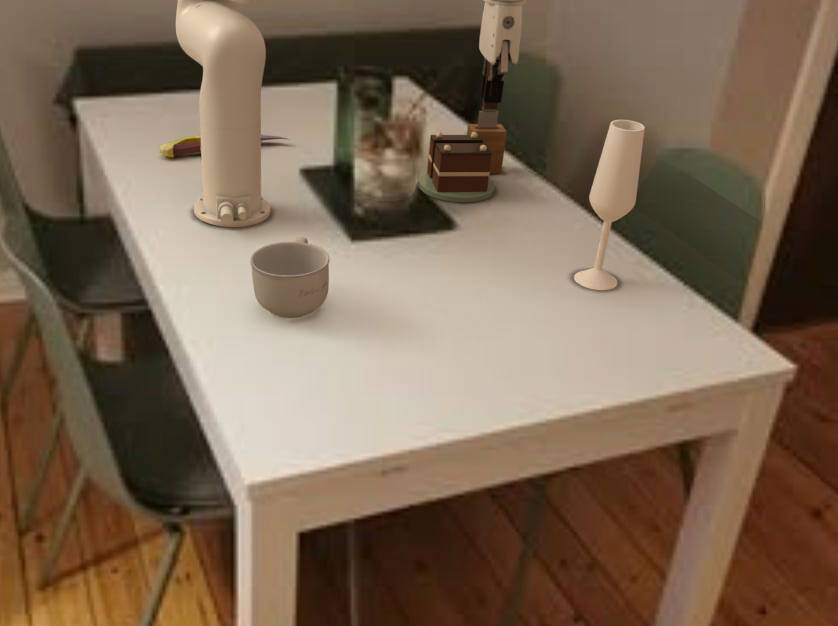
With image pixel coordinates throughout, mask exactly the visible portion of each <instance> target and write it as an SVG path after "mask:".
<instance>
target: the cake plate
mask: <svg viewBox="0 0 838 626" xmlns="http://www.w3.org/2000/svg"><path fill="white" fill-rule="evenodd" d="M417 185H418V188H419V190H420V191H421V192H422V193H424V194H425V195H427V196H429V197H431V198H434V199H438V200H441V201H445V202H452V203H477V202H480V201H481V202H482V201H485V200H487V199H488V198H490V197H492V196H493V194H494V192H495V182H493V180H492V179H491V178H489V180H488V188H487V192H437V190H436V188H435V186H434V185H433V183H432V178H430V177H429V175H428V174H427V171H425V172H424V173H422V174H421V175H420V176H419V177H418V184H417Z"/></svg>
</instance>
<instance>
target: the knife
mask: <svg viewBox="0 0 838 626" xmlns="http://www.w3.org/2000/svg"><path fill="white" fill-rule="evenodd" d="M272 140H289V141H290V139H289V138H288V137H284V136H278V135H268V134H261V142H263V141H272ZM158 152H159V154H160V155H162V156H163V157H169V158H174V157H175V156H179V155H185V154H186V155H188V154H195V153H201V134H198V135H186V136H183V137H180V138H177V139H175V140H173V141H170V142H167V143H163V144H160V146H158Z"/></svg>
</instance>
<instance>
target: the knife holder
mask: <svg viewBox="0 0 838 626" xmlns="http://www.w3.org/2000/svg"><path fill="white" fill-rule="evenodd" d="M477 127H478V123H468V124H467V129H466V135H471V133H472V132H476V133H477V134H478V135H480V136H481V138H482V139H483V143H485V144H486V145H487V146H488V148H489V149H490V151H491V152H492V157H491V165H490V174H493V175H494V174H495V175H497V174H498V175H501V174H502V170H503V165H504V163H503V162H504V156H505V150H506V149H505V148H506V141H507V134H508V131H507V129H506V128H505V127H504V125H503V124H502V123H497V127H496V129H477Z"/></svg>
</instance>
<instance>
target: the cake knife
mask: <svg viewBox="0 0 838 626" xmlns="http://www.w3.org/2000/svg"><path fill="white" fill-rule="evenodd" d="M496 61H499V60H496ZM489 66H490V62H489V61H488V62H487V71H486V79H488V74H489ZM495 68H498V67H494V69H495ZM486 79H485V83H486ZM484 91H485V87H484ZM483 99H484V95H483V98H482V106H481V107H482V108H481V110H479V111H478V118H477V119H478V120H477V124H478V127H477V129H496V127H497V124H498V121H499V120H498V119H499V110H497V109H498V105H499V103H485V102H484V101H483Z"/></svg>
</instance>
